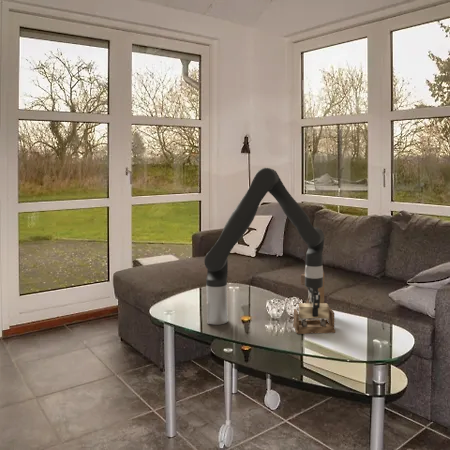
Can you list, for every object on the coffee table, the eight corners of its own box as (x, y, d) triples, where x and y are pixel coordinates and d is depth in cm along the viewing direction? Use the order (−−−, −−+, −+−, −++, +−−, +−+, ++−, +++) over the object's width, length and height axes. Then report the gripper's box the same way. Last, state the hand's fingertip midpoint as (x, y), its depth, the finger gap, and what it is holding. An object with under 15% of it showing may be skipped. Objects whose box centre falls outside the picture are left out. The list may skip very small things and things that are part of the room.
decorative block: (309, 319, 231) (310, 276, 228) (300, 316, 235) (300, 274, 232) (324, 314, 238) (325, 272, 235) (315, 311, 242) (315, 270, 239)
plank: (327, 314, 220) (327, 303, 219) (328, 318, 215) (328, 306, 214) (298, 314, 221) (298, 303, 220) (299, 318, 216) (299, 306, 215)
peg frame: (296, 333, 213) (297, 315, 212) (293, 325, 223) (293, 308, 222) (335, 332, 214) (335, 314, 213) (329, 324, 224) (329, 307, 222)
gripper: (326, 279, 208) (326, 319, 211) (319, 271, 222) (319, 308, 225) (308, 280, 208) (308, 320, 210) (302, 271, 222) (302, 309, 225)
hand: (313, 314), depth 218 cm, fingers closed on plank, 5 cm apart
